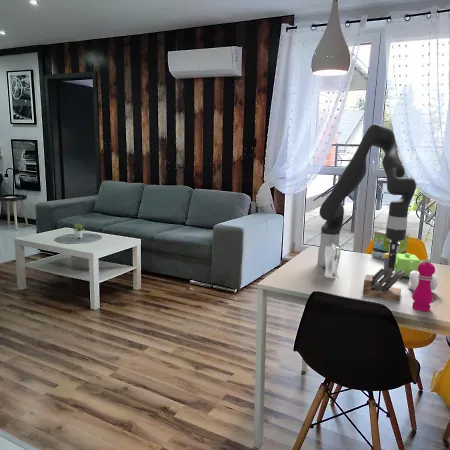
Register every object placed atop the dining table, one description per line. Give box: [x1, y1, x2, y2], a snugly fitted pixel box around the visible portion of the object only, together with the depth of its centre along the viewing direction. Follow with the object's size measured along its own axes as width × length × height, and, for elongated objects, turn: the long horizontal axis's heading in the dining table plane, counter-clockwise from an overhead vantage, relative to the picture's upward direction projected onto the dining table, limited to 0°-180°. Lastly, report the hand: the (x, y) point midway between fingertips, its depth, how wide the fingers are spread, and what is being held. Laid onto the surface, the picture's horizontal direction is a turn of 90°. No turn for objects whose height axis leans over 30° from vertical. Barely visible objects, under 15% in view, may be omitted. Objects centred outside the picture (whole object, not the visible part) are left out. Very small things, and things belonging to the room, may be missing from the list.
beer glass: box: [323, 244, 341, 280], centre depth 195 cm, size 7×7×15 cm
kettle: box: [393, 252, 425, 279], centre depth 201 cm, size 15×14×11 cm
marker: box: [383, 253, 392, 284], centre depth 173 cm, size 3×3×12 cm
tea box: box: [371, 229, 409, 260], centre depth 231 cm, size 15×10×15 cm
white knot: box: [407, 271, 439, 292], centre depth 181 cm, size 11×12×9 cm
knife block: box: [362, 267, 405, 302], centre depth 174 cm, size 15×9×11 cm, turn 65°
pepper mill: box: [411, 258, 436, 312], centre depth 160 cm, size 7×7×20 cm
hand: (391, 265), depth 172 cm, fingers open, 8 cm apart
